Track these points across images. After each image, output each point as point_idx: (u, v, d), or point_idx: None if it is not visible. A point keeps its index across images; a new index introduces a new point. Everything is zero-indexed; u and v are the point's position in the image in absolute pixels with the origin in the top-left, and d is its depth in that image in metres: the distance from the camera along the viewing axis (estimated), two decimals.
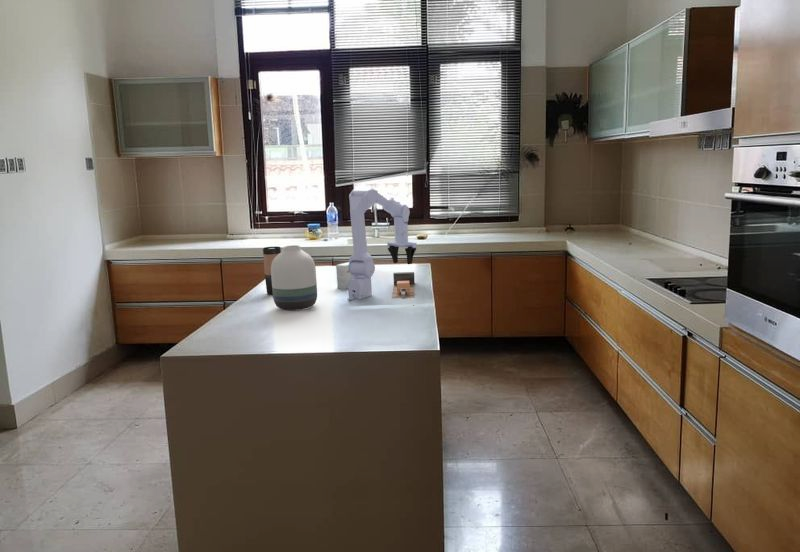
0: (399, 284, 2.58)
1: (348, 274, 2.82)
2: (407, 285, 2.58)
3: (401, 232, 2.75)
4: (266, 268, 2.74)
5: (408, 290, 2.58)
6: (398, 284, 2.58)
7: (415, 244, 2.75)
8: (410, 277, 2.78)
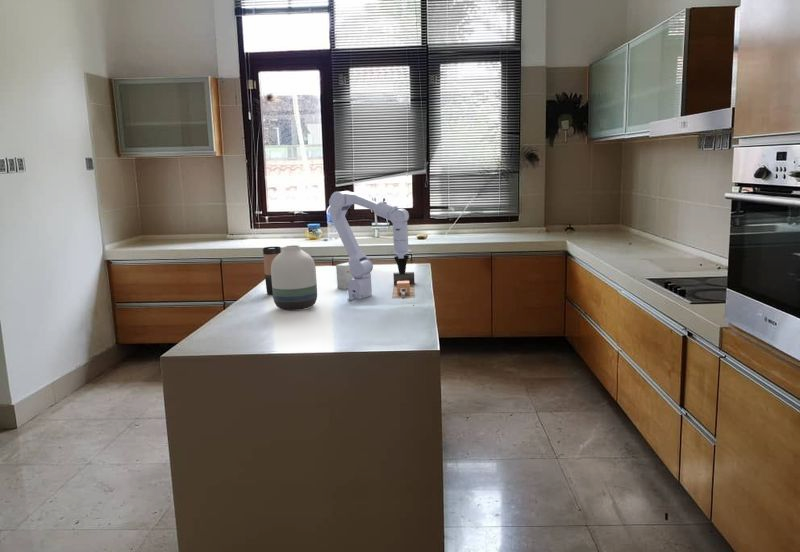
0: (399, 284, 2.58)
1: (349, 274, 2.82)
2: (407, 285, 2.58)
3: (393, 239, 2.49)
4: (266, 268, 2.74)
5: (408, 290, 2.58)
6: (398, 284, 2.58)
7: (401, 255, 2.44)
8: (410, 277, 2.78)
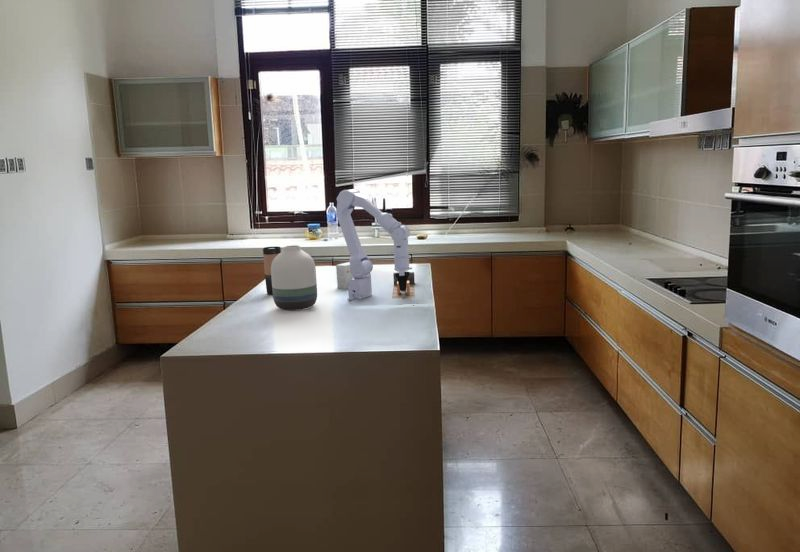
0: None
1: (348, 274, 2.82)
2: (407, 285, 2.58)
3: (394, 256, 2.51)
4: (266, 268, 2.74)
5: (408, 290, 2.58)
6: (398, 284, 2.58)
7: (402, 272, 2.45)
8: (410, 277, 2.78)
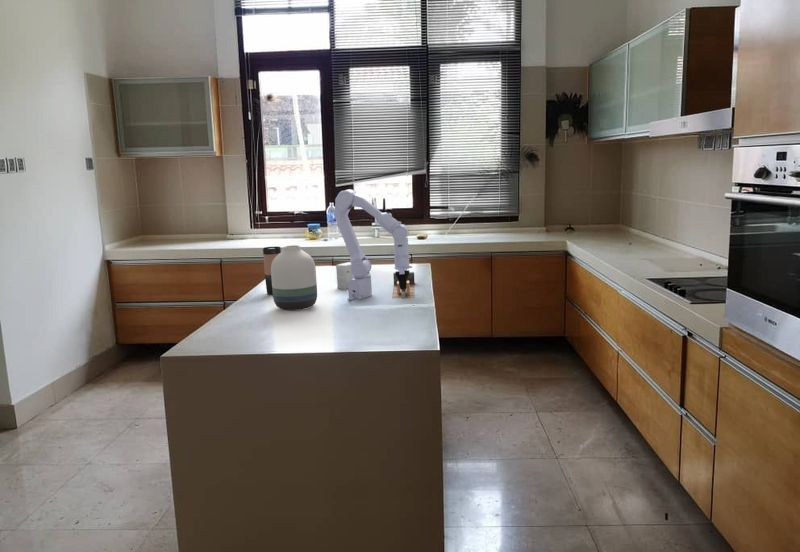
0: None
1: (348, 274, 2.82)
2: (407, 285, 2.58)
3: (395, 255, 2.53)
4: (266, 268, 2.74)
5: (408, 290, 2.58)
6: (398, 284, 2.58)
7: (402, 270, 2.48)
8: (410, 277, 2.78)
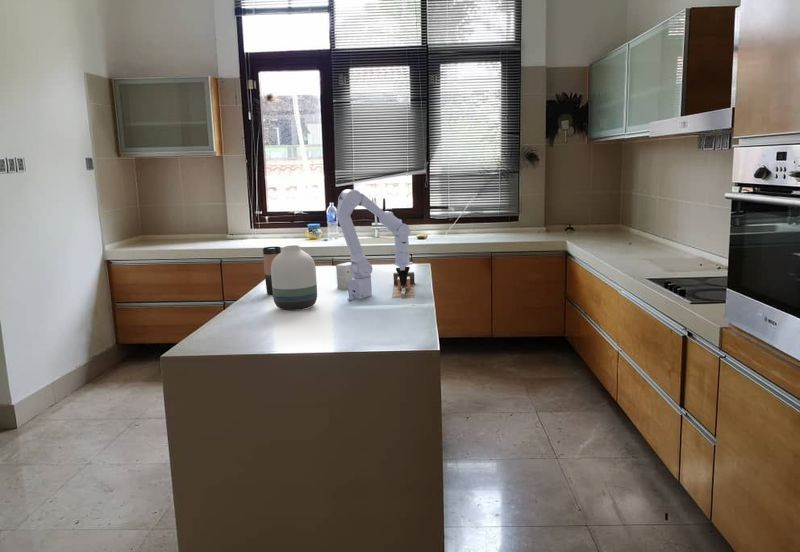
0: None
1: (348, 274, 2.82)
2: (407, 281, 2.67)
3: (398, 252, 2.61)
4: (266, 268, 2.74)
5: (408, 286, 2.67)
6: (399, 280, 2.67)
7: (402, 267, 2.57)
8: (410, 277, 2.78)
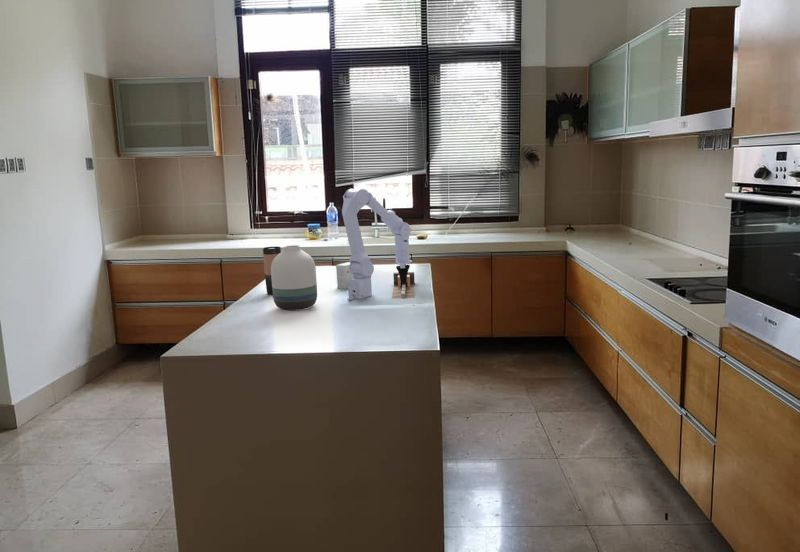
0: None
1: (348, 274, 2.82)
2: (407, 279, 2.72)
3: (400, 250, 2.66)
4: (266, 268, 2.74)
5: (408, 283, 2.72)
6: (399, 278, 2.72)
7: (402, 265, 2.62)
8: (410, 277, 2.78)
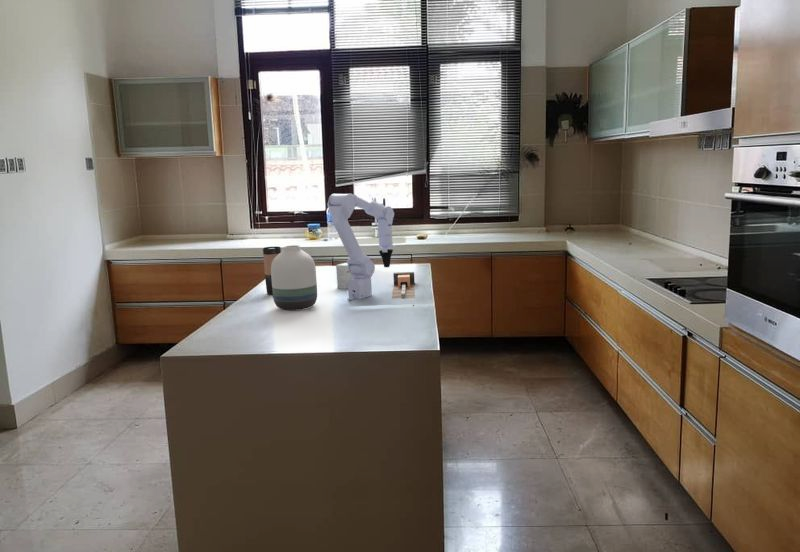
0: (400, 278, 2.72)
1: (349, 274, 2.82)
2: (407, 279, 2.72)
3: (385, 235, 2.65)
4: (266, 268, 2.74)
5: (408, 283, 2.72)
6: (399, 278, 2.72)
7: (385, 249, 2.62)
8: (410, 277, 2.78)
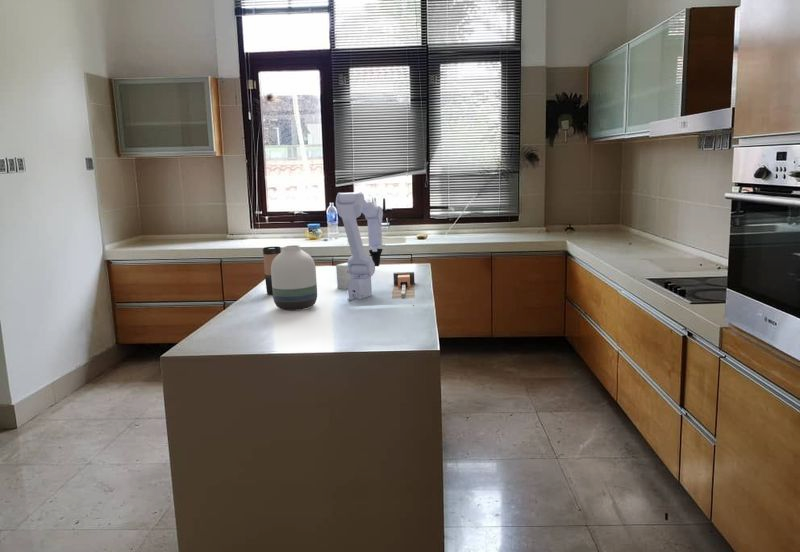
0: (400, 278, 2.72)
1: (349, 274, 2.82)
2: (407, 279, 2.72)
3: (377, 234, 2.69)
4: (266, 268, 2.74)
5: (408, 283, 2.72)
6: (399, 278, 2.72)
7: (374, 248, 2.66)
8: (410, 277, 2.78)
